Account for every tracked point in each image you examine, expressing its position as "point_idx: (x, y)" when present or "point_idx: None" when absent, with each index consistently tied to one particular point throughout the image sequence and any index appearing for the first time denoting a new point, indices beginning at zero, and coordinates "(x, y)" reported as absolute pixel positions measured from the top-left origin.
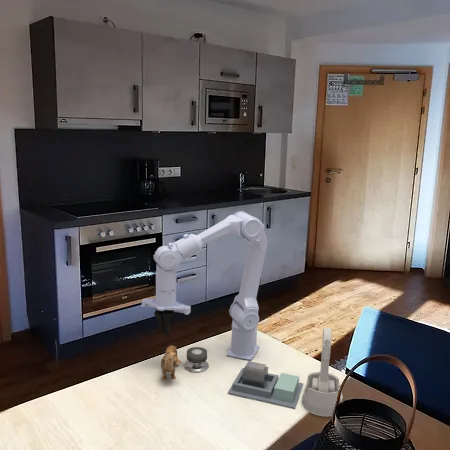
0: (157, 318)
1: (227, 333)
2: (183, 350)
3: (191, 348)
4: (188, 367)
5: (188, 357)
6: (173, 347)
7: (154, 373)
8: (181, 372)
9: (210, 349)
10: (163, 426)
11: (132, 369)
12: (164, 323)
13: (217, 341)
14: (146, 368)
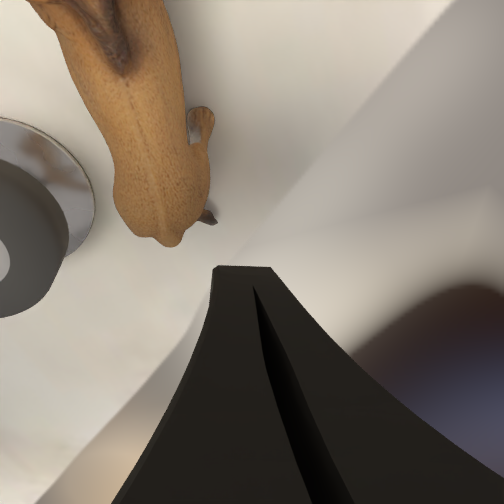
0: (460, 463)
1: (52, 480)
2: (177, 320)
3: (38, 284)
4: (42, 156)
5: (7, 179)
6: (130, 197)
7: (247, 20)
8: (65, 91)
9: (46, 367)
10: None
11: (410, 34)
12: (255, 388)
13: (56, 426)
14: (321, 76)
